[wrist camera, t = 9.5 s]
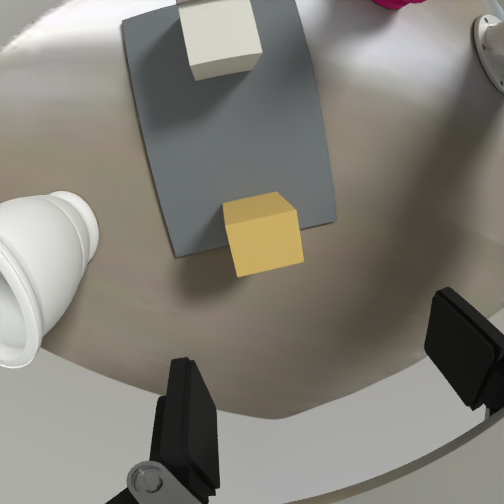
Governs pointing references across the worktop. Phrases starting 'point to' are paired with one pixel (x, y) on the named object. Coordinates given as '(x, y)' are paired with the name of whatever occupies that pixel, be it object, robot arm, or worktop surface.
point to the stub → (262, 233)
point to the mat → (229, 125)
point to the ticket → (219, 36)
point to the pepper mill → (396, 3)
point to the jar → (40, 267)
